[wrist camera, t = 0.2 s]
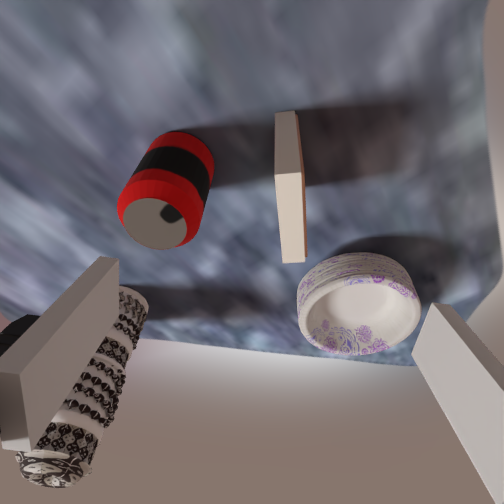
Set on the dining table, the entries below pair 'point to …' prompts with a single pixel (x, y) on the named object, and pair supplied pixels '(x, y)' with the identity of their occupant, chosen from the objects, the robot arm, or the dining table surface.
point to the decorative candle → (87, 404)
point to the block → (290, 187)
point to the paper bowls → (357, 304)
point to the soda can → (167, 192)
